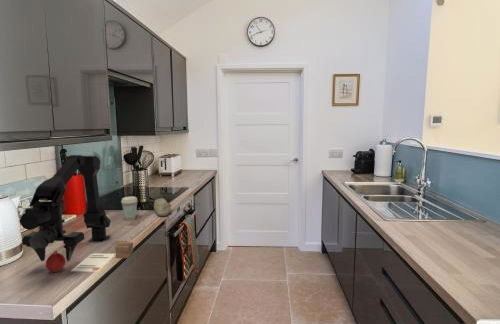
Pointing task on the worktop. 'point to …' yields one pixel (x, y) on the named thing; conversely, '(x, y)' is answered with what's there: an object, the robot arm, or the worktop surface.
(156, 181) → the worktop surface
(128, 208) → the coffee cup
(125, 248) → the walnut block
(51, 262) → the onion
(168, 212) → the long grey stone
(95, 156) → the robot arm
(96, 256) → the letter
